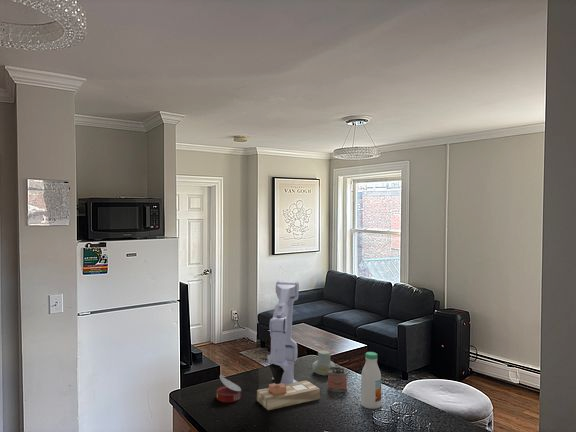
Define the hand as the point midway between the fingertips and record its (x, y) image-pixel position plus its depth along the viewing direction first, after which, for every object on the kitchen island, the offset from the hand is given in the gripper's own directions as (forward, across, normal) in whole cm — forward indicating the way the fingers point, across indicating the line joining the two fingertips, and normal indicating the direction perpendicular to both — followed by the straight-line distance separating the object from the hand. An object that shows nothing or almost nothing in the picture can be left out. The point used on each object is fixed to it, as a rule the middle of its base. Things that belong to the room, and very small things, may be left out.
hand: (277, 383), depth 165 cm
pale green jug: (+8, -18, +34) cm, 39 cm away
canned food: (+8, -13, -15) cm, 21 cm away
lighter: (+8, +1, +28) cm, 29 cm away
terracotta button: (+4, 0, 0) cm, 4 cm away
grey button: (+6, 0, +10) cm, 12 cm away
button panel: (+7, 0, +5) cm, 9 cm away
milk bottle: (+8, +19, +31) cm, 37 cm away
